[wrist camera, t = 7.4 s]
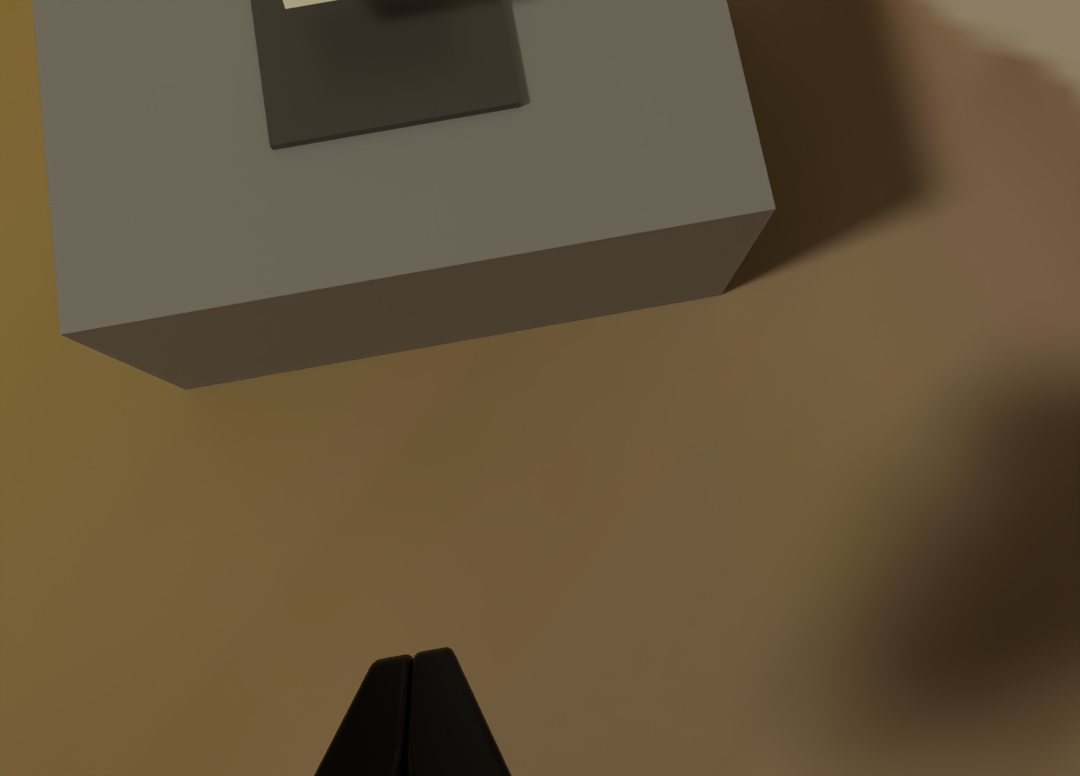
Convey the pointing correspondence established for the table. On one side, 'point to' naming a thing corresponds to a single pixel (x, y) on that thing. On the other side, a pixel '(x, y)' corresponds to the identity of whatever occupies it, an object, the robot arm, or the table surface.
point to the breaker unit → (384, 172)
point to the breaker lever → (301, 3)
